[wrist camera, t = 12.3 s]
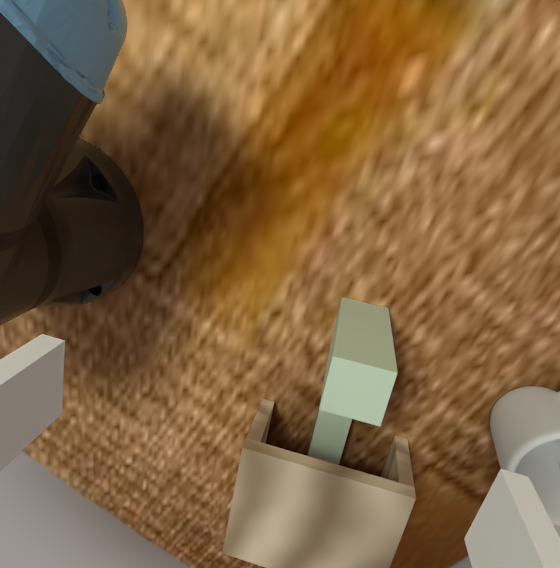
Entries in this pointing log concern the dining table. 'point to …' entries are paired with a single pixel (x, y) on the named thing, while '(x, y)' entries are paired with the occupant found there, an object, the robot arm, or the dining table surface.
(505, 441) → the cup
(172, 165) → the dining table surface
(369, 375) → the sage green mallet
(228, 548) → the beige arch
